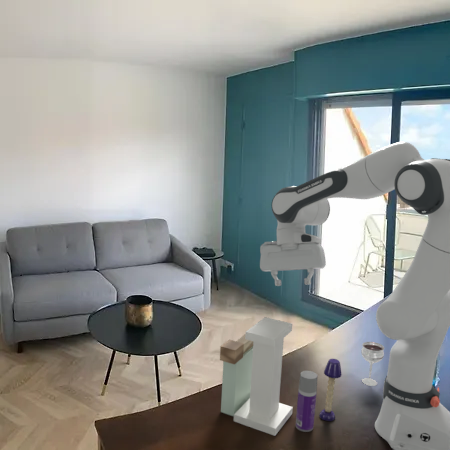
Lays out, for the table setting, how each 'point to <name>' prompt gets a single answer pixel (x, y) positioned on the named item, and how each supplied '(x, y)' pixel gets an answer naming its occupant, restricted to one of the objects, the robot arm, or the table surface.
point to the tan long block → (234, 350)
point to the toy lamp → (330, 388)
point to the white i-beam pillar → (266, 378)
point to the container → (306, 401)
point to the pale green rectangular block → (236, 383)
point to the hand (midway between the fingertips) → (292, 285)
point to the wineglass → (372, 358)
